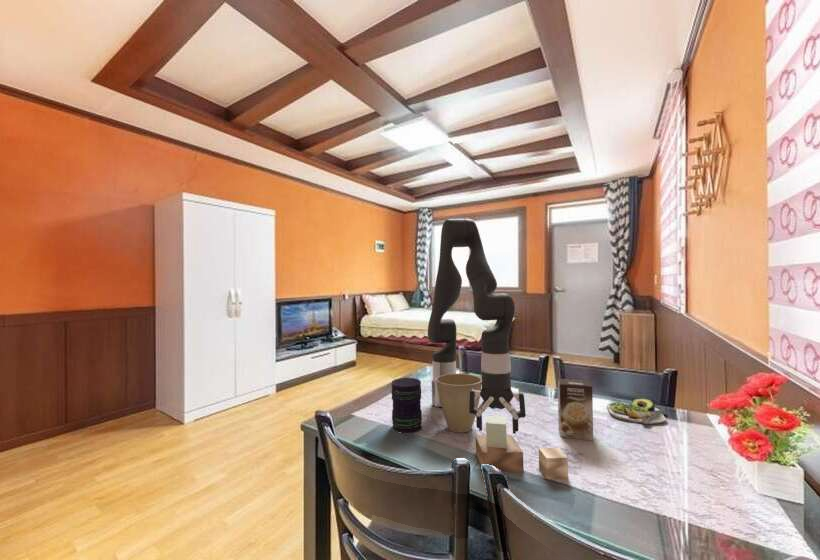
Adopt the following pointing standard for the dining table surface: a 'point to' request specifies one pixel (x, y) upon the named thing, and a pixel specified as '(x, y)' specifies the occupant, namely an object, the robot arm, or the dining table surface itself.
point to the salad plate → (637, 411)
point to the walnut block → (500, 454)
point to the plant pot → (458, 399)
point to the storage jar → (406, 405)
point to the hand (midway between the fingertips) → (497, 431)
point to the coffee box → (575, 409)
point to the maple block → (553, 463)
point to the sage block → (496, 432)
